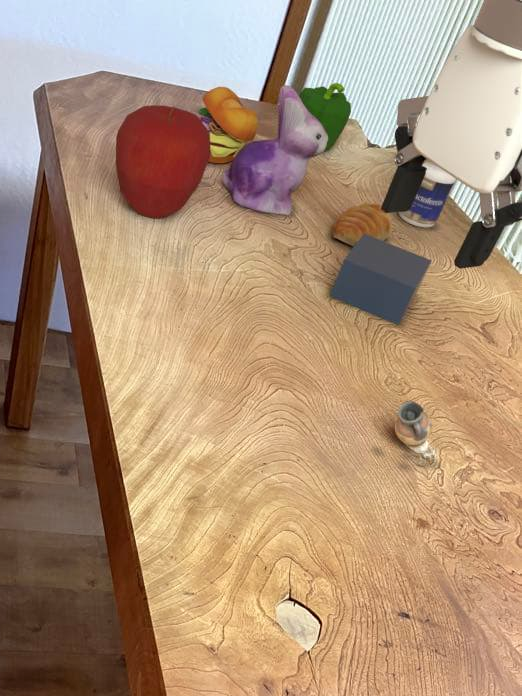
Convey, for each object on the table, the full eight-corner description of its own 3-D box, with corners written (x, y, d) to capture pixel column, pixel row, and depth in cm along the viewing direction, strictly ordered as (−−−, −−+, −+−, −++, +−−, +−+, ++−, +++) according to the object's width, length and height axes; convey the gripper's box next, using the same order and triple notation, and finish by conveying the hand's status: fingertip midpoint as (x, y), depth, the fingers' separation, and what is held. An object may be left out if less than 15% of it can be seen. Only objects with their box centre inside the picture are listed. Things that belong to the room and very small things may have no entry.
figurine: (309, 215, 125) (348, 104, 114) (249, 218, 121) (284, 103, 110) (273, 184, 130) (307, 75, 120) (214, 186, 126) (244, 73, 115)
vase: (393, 472, 86) (419, 423, 82) (362, 436, 90) (386, 388, 85) (436, 464, 88) (463, 417, 84) (404, 430, 92) (429, 382, 88)
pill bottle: (398, 222, 129) (427, 154, 122) (395, 206, 133) (424, 139, 126) (436, 232, 129) (468, 164, 122) (433, 216, 133) (463, 149, 126)
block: (349, 269, 115) (364, 233, 112) (415, 296, 114) (432, 260, 110) (329, 296, 109) (344, 258, 106) (398, 324, 107) (415, 287, 104)
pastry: (359, 256, 119) (370, 229, 116) (317, 234, 121) (327, 208, 118) (391, 239, 124) (402, 213, 122) (350, 218, 127) (360, 192, 124)
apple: (175, 190, 122) (200, 89, 113) (207, 233, 115) (236, 128, 106) (93, 187, 118) (111, 81, 109) (120, 231, 111) (142, 121, 102)
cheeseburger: (173, 129, 138) (205, 66, 131) (234, 162, 140) (268, 102, 133) (167, 153, 130) (200, 87, 124) (232, 187, 132) (267, 124, 126)
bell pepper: (281, 130, 147) (301, 65, 140) (327, 137, 148) (349, 74, 141) (293, 152, 141) (314, 85, 134) (341, 159, 142) (365, 94, 136)
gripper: (649, 72, 64) (528, 284, 76) (481, -11, 74) (397, 189, 86) (583, 70, 61) (467, 293, 73) (416, -16, 70) (338, 193, 82)
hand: (429, 237), depth 79 cm, fingers open, 9 cm apart
